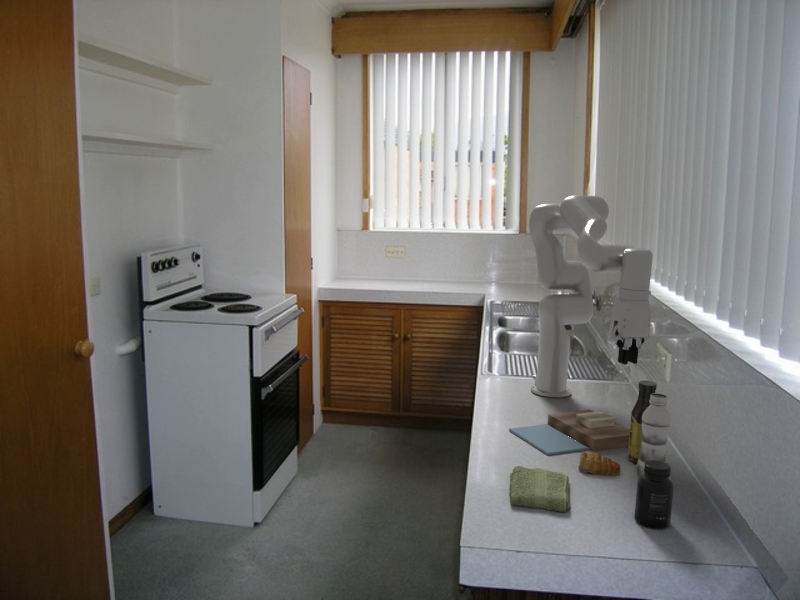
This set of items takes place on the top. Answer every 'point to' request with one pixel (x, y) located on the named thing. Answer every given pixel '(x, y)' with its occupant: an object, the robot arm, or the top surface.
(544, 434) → the rubber mat
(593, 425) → the birch tile
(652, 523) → the supplement bottle
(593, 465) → the pastry
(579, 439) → the walnut stand
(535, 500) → the washcloth
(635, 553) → the top surface
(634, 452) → the sauce bottle
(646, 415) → the plastic bottle
